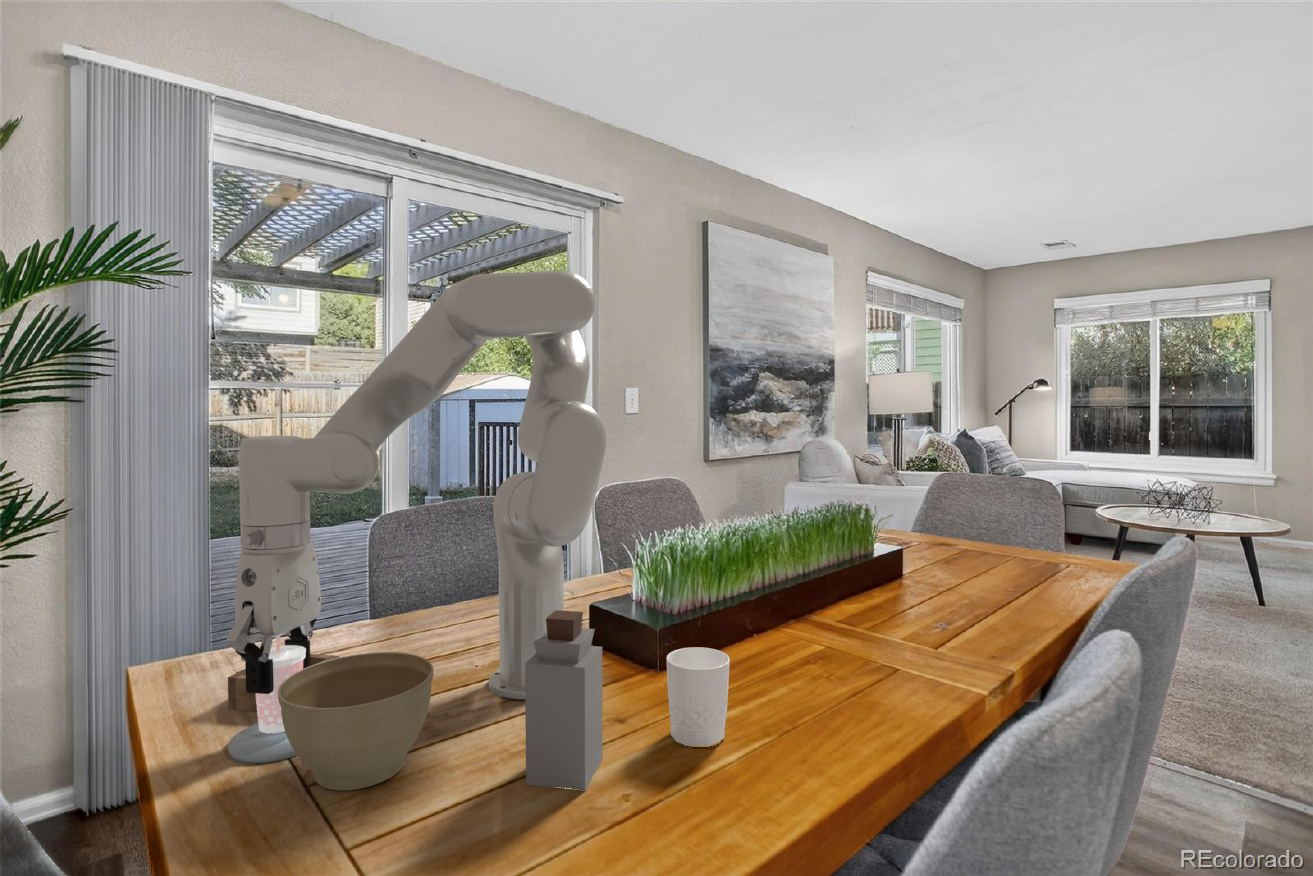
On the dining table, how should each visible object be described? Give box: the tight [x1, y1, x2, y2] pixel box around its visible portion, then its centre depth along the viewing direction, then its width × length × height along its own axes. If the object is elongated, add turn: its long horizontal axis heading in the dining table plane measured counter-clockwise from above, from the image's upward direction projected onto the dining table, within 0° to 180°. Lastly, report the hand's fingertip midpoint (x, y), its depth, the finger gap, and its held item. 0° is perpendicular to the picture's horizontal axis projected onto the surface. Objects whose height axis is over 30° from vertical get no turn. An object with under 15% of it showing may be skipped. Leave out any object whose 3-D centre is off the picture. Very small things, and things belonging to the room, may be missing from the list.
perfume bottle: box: [524, 610, 604, 792], centre depth 79 cm, size 7×7×18 cm
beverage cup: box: [255, 635, 306, 733], centre depth 87 cm, size 6×6×14 cm
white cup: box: [666, 646, 730, 747], centre depth 88 cm, size 8×8×10 cm
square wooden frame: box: [227, 653, 340, 713], centre depth 100 cm, size 10×10×4 cm
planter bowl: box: [278, 651, 434, 791], centre depth 80 cm, size 16×16×11 cm
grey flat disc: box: [227, 722, 298, 764], centre depth 87 cm, size 11×11×1 cm
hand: (279, 680), depth 87 cm, fingers closed on beverage cup, 6 cm apart
